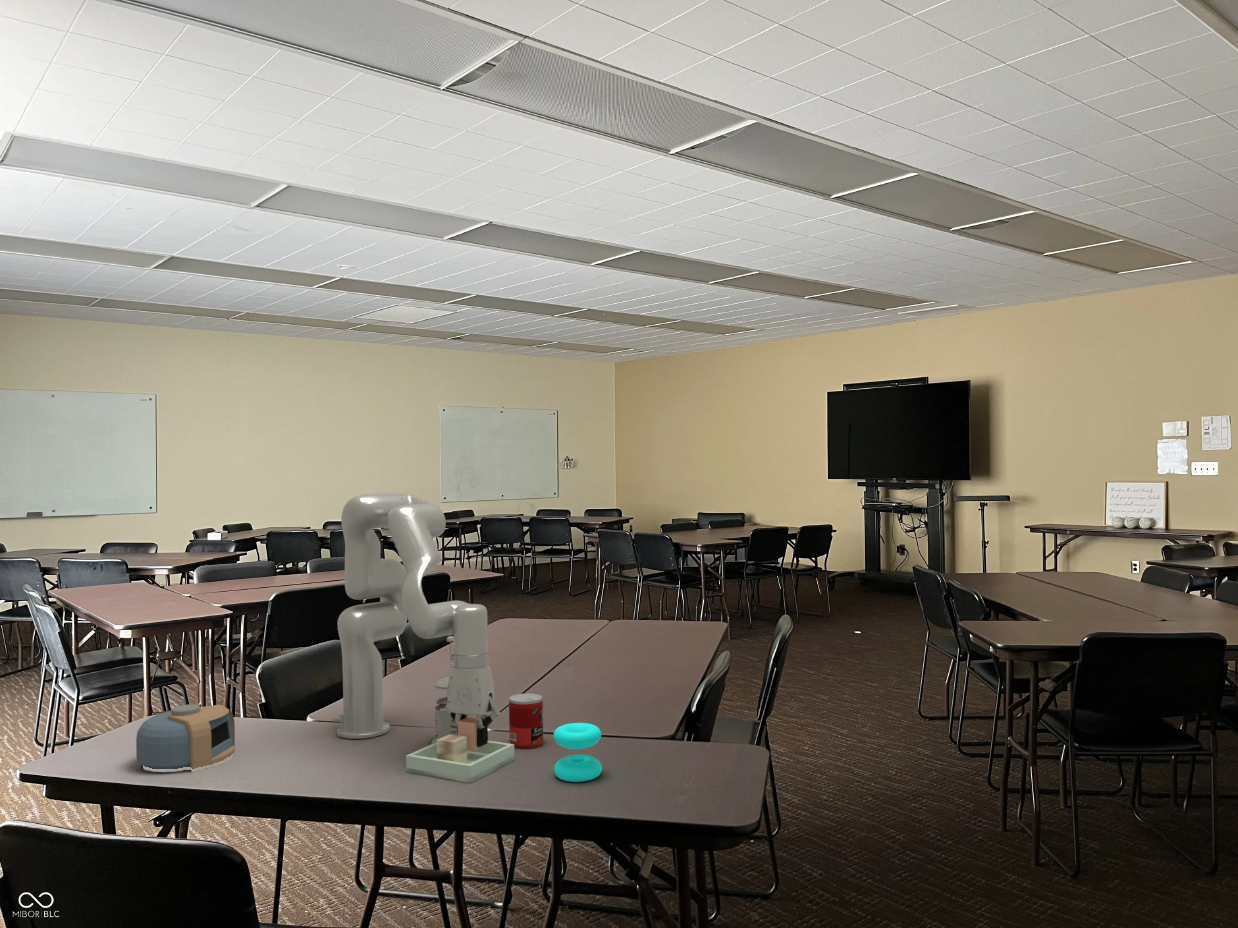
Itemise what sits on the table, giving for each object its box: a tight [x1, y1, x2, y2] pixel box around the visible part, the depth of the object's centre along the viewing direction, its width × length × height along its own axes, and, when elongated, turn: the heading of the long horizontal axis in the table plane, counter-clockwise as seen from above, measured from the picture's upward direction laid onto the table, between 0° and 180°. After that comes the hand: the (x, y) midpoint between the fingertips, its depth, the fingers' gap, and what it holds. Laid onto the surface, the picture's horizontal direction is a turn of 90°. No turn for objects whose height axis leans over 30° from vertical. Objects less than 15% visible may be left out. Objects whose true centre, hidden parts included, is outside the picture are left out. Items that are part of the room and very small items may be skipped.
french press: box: [431, 635, 469, 745], centre depth 212 cm, size 10×12×25 cm
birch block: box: [437, 734, 467, 763], centre depth 189 cm, size 4×4×6 cm
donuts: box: [553, 722, 603, 783], centre depth 185 cm, size 10×10×10 cm
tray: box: [405, 740, 515, 784], centre depth 192 cm, size 17×16×4 cm
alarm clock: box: [135, 704, 236, 769], centre depth 200 cm, size 19×20×12 cm
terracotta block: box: [458, 715, 487, 751], centre depth 195 cm, size 4×4×6 cm
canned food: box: [508, 693, 544, 750], centre depth 207 cm, size 8×8×11 cm
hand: (472, 742), depth 195 cm, fingers closed on terracotta block, 4 cm apart
